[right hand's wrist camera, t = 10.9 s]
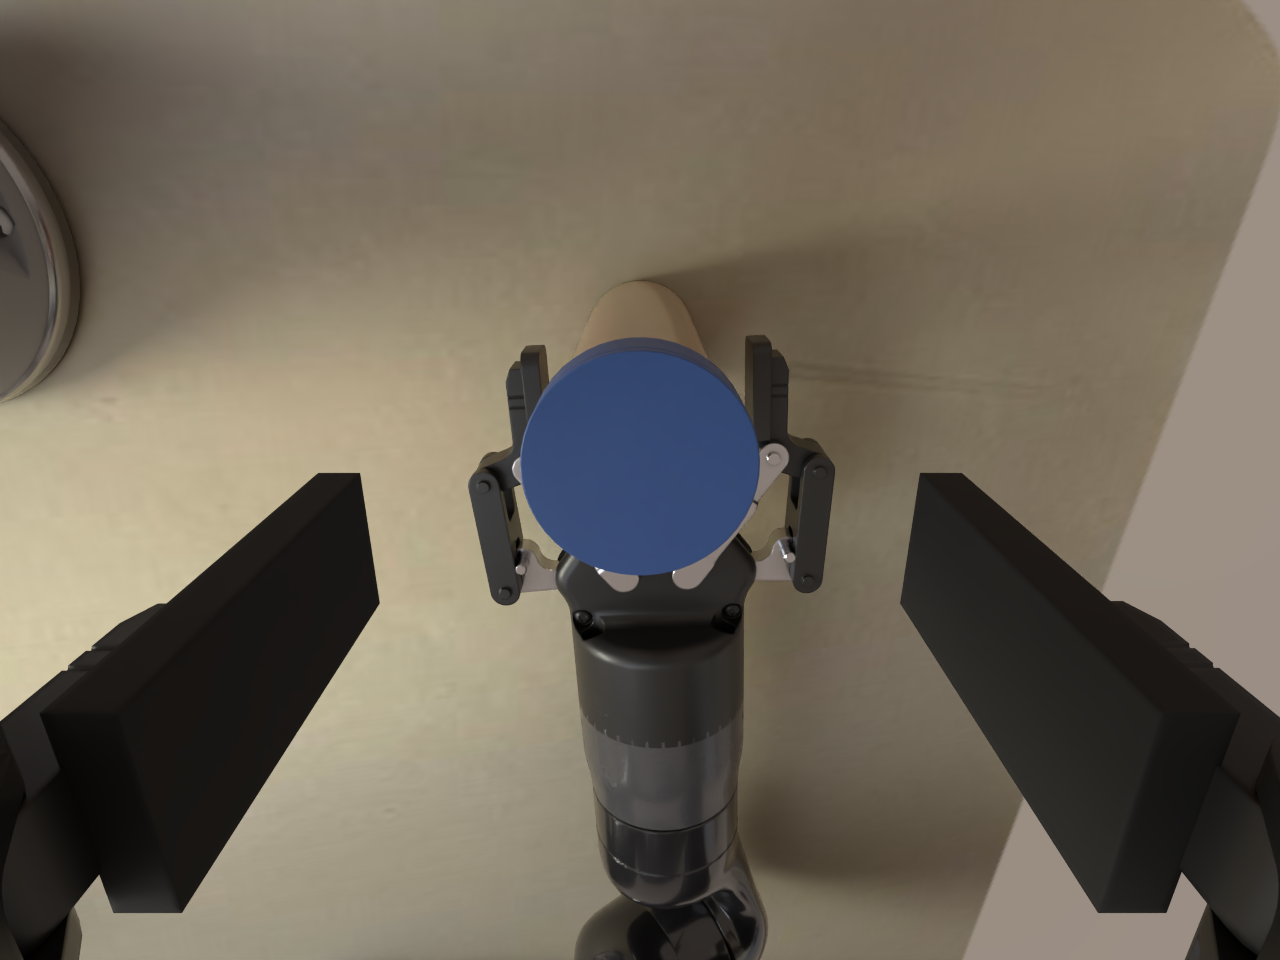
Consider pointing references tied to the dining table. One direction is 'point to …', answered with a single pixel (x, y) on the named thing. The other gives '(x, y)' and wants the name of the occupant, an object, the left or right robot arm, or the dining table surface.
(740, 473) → the lid
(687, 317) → the jar
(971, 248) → the dining table surface
